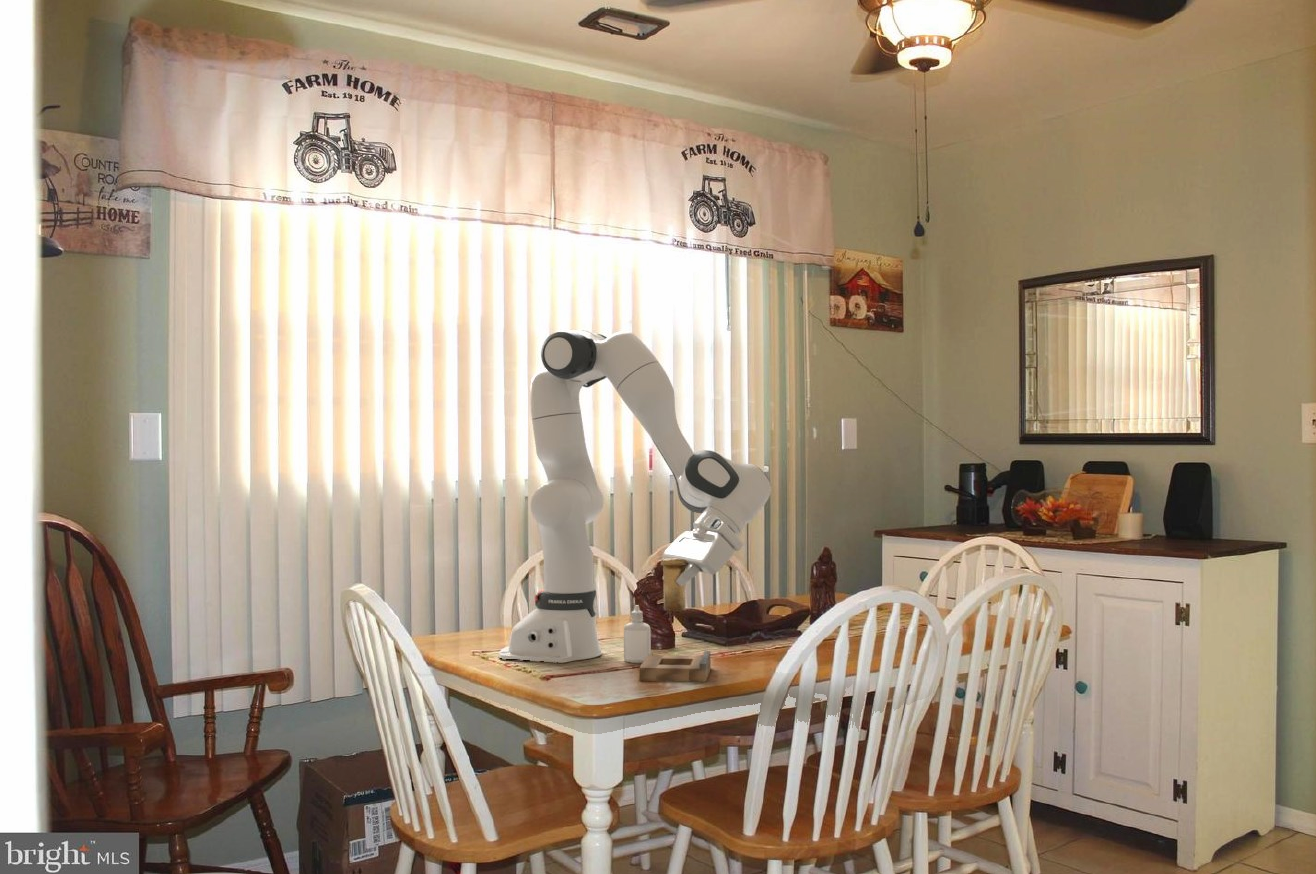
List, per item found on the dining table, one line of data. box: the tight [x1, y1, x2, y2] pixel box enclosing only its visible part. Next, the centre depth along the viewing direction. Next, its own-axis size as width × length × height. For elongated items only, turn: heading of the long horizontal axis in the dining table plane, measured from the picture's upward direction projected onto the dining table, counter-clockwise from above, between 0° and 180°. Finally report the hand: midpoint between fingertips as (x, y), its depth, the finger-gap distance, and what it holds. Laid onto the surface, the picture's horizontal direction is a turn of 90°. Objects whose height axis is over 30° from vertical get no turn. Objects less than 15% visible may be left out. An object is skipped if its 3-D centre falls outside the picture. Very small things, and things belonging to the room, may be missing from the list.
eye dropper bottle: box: [623, 604, 652, 664], centre depth 221 cm, size 4×6×12 cm
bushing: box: [660, 558, 688, 612], centre depth 207 cm, size 5×5×10 cm
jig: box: [638, 650, 711, 683], centre depth 207 cm, size 13×13×4 cm
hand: (671, 582), depth 207 cm, fingers closed on bushing, 4 cm apart
